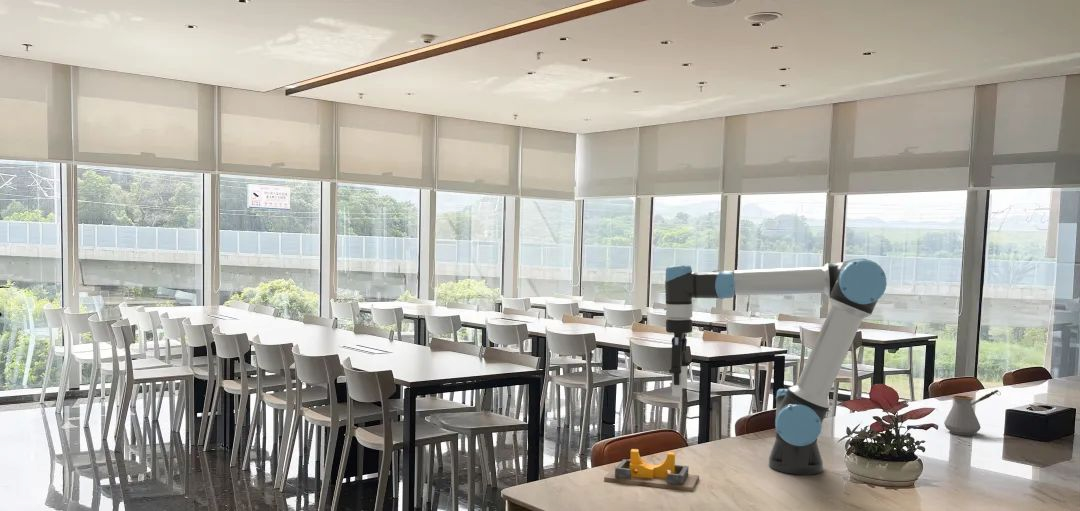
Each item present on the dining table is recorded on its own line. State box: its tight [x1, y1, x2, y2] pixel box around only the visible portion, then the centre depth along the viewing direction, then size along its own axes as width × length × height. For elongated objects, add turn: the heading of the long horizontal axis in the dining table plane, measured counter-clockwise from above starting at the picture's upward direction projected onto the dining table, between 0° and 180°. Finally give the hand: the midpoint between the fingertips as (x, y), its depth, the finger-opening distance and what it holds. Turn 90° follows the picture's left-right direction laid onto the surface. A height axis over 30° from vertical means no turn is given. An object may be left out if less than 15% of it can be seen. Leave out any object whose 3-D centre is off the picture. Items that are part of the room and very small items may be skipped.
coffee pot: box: [943, 389, 1002, 436], centre depth 283 cm, size 21×12×15 cm, turn 104°
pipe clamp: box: [629, 448, 676, 478], centre depth 218 cm, size 12×4×6 cm, turn 76°
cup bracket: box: [603, 458, 700, 492], centre depth 218 cm, size 24×12×4 cm, turn 71°
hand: (679, 392), depth 229 cm, fingers open, 13 cm apart
